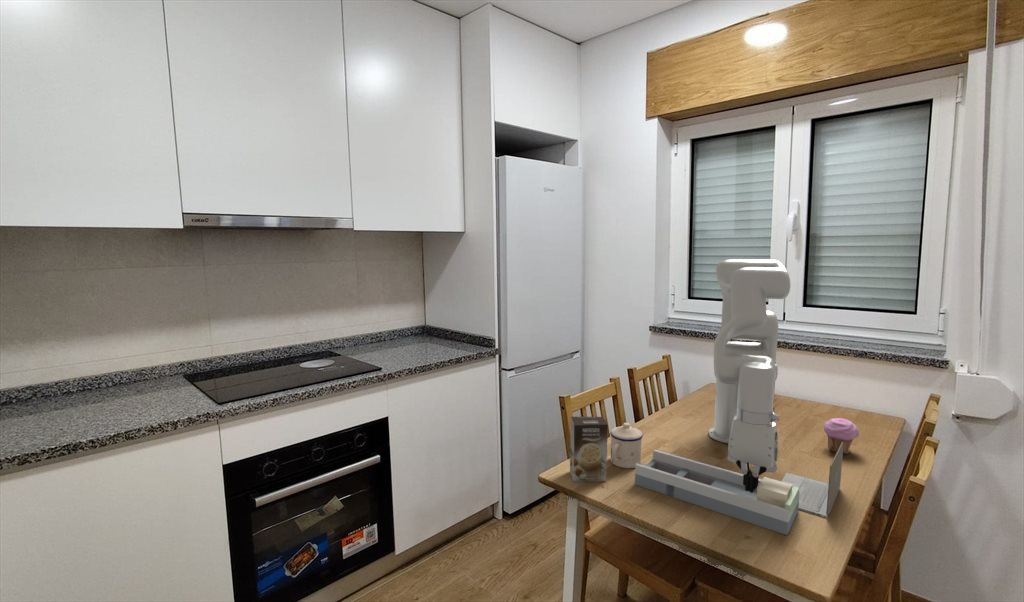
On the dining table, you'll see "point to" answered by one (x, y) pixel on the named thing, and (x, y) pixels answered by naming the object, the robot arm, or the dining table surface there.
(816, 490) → the laptop
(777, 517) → the channel
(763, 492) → the block
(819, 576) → the dining table surface
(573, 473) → the coffee box
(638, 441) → the teacup with lid
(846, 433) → the cupcake
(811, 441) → the dining table surface
